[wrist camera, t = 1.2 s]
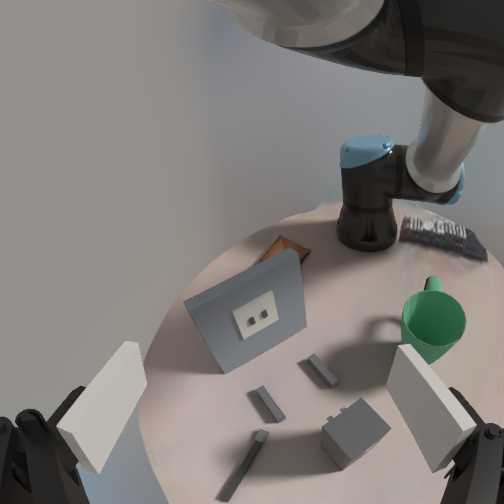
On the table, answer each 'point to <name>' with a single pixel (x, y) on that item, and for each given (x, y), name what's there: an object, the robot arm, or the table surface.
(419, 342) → the mug
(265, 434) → the grey long bar
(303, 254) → the sunglasses case
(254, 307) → the outlet board
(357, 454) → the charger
